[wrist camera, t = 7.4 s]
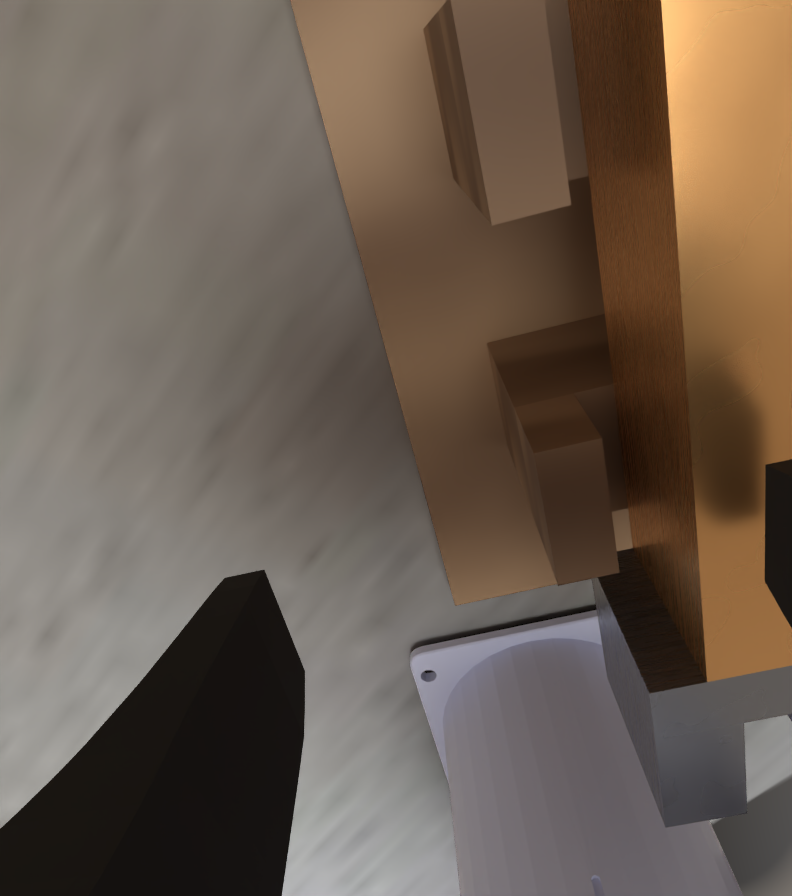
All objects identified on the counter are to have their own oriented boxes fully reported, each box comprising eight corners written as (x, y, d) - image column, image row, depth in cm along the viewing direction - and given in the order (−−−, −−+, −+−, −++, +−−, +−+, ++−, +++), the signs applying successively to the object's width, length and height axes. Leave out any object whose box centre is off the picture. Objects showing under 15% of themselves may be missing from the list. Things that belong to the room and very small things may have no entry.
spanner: (812, 637, 17) (925, 781, 14) (607, 678, 18) (665, 828, 14) (843, -586, 8) (1188, -1080, 5) (433, -440, 9) (470, -794, 5)
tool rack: (839, 501, 21) (1030, 672, 15) (452, 585, 22) (481, 776, 16) (882, -441, 12) (1392, -973, 6) (232, -226, 13) (109, -492, 7)
